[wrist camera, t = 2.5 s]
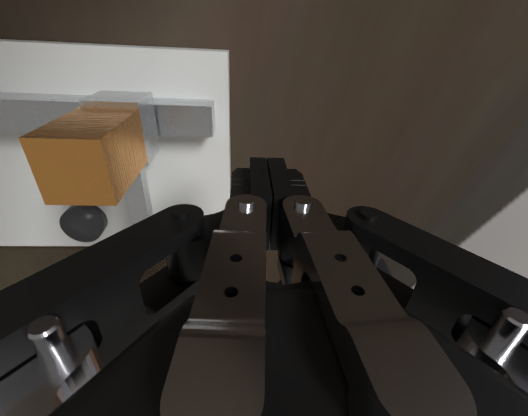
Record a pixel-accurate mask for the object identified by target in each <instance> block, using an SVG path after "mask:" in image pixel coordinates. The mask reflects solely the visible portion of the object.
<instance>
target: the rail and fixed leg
mask: <svg viewBox="0 0 528 416" xmlns="http://www.w3.org/2000/svg"><path fill="white" fill-rule="evenodd" d="M87 96H89V95H68V94H40V93H13V92H0V131H2V132H31V131H33V130H35V129H37V128H39V127H41V126H43V125H44V124H46V123H48V122H50V121H52V120H54V119H56V118H58V117H60V116H62V115H64V114H66V113H68V112H70V111H72V110H74V109H76V108H78V107H80V105H79V100H81V99H83V98H85V97H87ZM153 103H154V110H155V117H156V124H157V130H158V136H185V137H213V135H214V131H215V107H214V100H207V99H179V98H153Z"/></svg>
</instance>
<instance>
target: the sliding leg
mask: <svg viewBox="0 0 528 416" xmlns="http://www.w3.org/2000/svg"><path fill="white" fill-rule="evenodd" d="M79 105H80V107H78V108H76V109H74V110H72V111H70V112H68V113H66V114H64V115H62V116H60V117H58V118H56V119H54V120H52V121H50V122H48V123H46V124H44V125H43V126H41V127H39V128H37V129H35V130H33V131H31V132H29V133H27V134H25V135H23V136H21V137H19V141H20V143H21V146H22V148H23V151H24V153H25V156H26V158H27V161H28V163H29V166H30V168H31V171H32V173H33V176H34V178H35V181H36V183H37V186H38V188H39V191H40V193H41V196H42V198H43V201H44V203H45V205H89V206H117V204H118V203H119V202H120V200H121V199H122V197H123V196H124V194H125V195H126V199H127V204H128V208H129V212H130V217H131V221H132V225H134V224H136V223H138V222H140V221H142V220H144V219H146V218H148V217H150V216H152V215H153V210H152V205H151V199H150V193H149V188H148V182H147V177H146V171H145V166H149V165H150V163H151V162H152V160H153V159H154V157H155V156H156V154H157V153H158V151H159V150H160V144H159V137H158V130H157V124H156V117H155V110H154V103H153V96H152V92H133V91H107V90H100V91H98V92H96V93H94V94H92V95H89V96H87V97H85V98H83V99H81V100H79Z"/></svg>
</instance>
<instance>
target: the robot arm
mask: <svg viewBox="0 0 528 416" xmlns="http://www.w3.org/2000/svg"><path fill="white" fill-rule="evenodd" d="M269 241H270V250H278V260H277V267H278V271H279V275H280V279H281V283H282V284H279V283H273V282H268V281H266V250H269ZM381 253H382V254H384V255H386V256H387V257H389V258H391V259H393V260H395V261H396V262H398V263H400V264H402V265H404V266H405V267H407V268H409V269H410V270H411V271H412V272H413V273H414V274H415V276H416V280H417V283H416V286H415V288H414V289H412V288H410V287H408V286H407V285H405V284H403V283H402V282H400V281H398V280H397V279H395V278H393V277H392V276H390V275H388V274H387V273H385V272H383V271H382V270H380V269H378V268H377V264H378V261H379V257H380V254H381ZM164 258H166V261H167V266H166V267H164V268H163V269H161V270H160V271H158V272H157V273H155V274H154V275H152V276H151V277H149V278H148V279H146V280H145V281H143V282H142V283H141V284H139V282H140V278H141V276H142V275H143V273H144V272H145V271H146V270H147V269H149V268H150V267H152V266H153V265H155V264H156V263H158V262H160V261H161V260H163V259H164ZM195 294H196V295H195ZM0 416H528V279H527V278H525V277H523V276H521V275H519V274H517V273H514V272H512V271H510V270H508V269H506V268H504V267H501V266H499V265H497V264H495V263H493V262H491V261H488V260H486V259H484V258H482V257H480V256H477V255H475V254H473V253H471V252H469V251H467V250H465V249H462V248H460V247H458V246H456V245H454V244H452V243H449V242H447V241H445V240H443V239H441V238H439V237H436V236H434V235H432V234H430V233H428V232H426V231H423V230H421V229H419V228H417V227H415V226H413V225H410V224H408V223H406V222H404V221H402V220H400V219H397V218H395V217H393V216H391V215H389V214H387V213H384V212H382V211H380V210H378V209H375V208H372V207H366V206H356V207H352V208H350V209H349V210H348V211H347V215H346V217H343V216H338V215H333V214H329V213H327V212H326V210H325V209H324V207H323V205H322V204H321V202H320V201H318V200H317V199H315V198H312V197H311V195H310V193H309V190H308V188H307V186H306V183H305V181H304V178H303V175H302V174H301V173H300V172H299V171H297V170H296V169H287V167H286V164H285V160H284V158H267V161H266V158H256V157H249V168H237V169H236V170H235V171H234V172H232V178H231V190H230V199H228V200H227V202H226V205H225V209H224V210H222V211H220V212H217V213H214V214H209V215H204V212H203V210H202V209H201V208H200V207H198V206H195V205H191V204H178V205H173V206H170V207H168V208H166V209H164V210H162V211H160V212H158V213H156V214H154V215H152V216H150V217H148V218H146V219H144V220H142V221H140V222H138V223H136V224H134V225H132V226H129V227H127V228H125V229H123V230H121V231H119V232H117V233H115V234H113V235H111V236H109V237H107V238H105V239H103V240H101V241H99V242H97V243H95V244H93V245H91V246H89V247H87V248H85V249H83V250H81V251H79V252H77V253H75V254H73V255H71V256H69V257H67V258H65V259H63V260H61V261H59V262H57V263H55V264H53V265H51V266H49V267H47V268H45V269H43V270H41V271H39V272H37V273H35V274H33V275H31V276H29V277H27V278H25V279H23V280H21V281H19V282H17V283H15V284H13V285H11V286H9V287H7V288H5V289H3V290H1V291H0Z"/></svg>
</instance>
